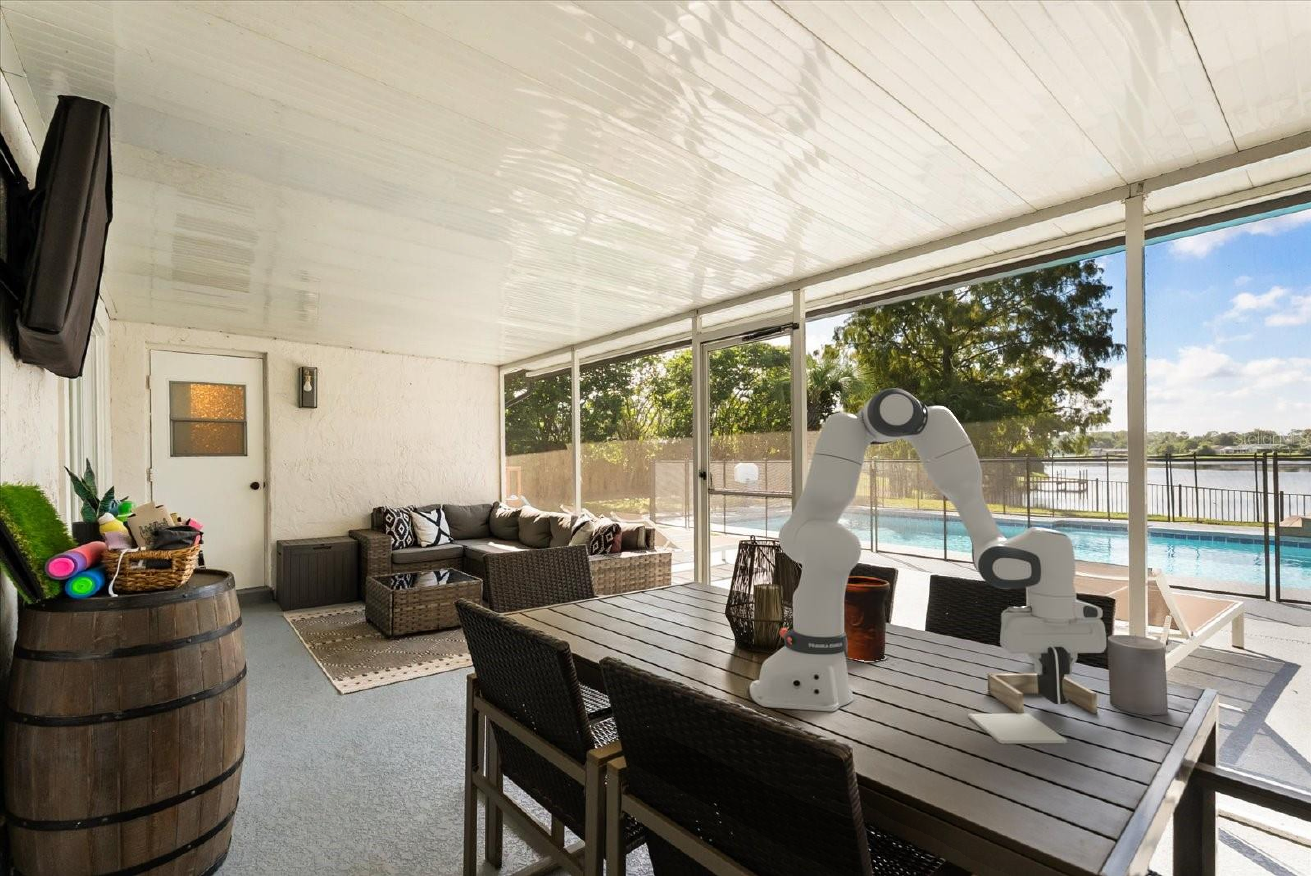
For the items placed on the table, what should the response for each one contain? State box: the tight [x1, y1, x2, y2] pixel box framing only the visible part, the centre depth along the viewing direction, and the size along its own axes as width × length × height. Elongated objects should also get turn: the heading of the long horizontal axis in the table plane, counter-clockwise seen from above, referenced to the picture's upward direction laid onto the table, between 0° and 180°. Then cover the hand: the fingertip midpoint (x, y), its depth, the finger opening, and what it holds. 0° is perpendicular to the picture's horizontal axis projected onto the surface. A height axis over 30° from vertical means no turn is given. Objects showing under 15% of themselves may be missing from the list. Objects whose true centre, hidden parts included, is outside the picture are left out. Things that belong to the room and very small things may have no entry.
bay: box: [987, 673, 1098, 714], centre depth 133 cm, size 16×12×4 cm
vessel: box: [844, 576, 891, 661], centre depth 167 cm, size 14×14×20 cm
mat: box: [967, 713, 1068, 744], centre depth 120 cm, size 12×12×1 cm
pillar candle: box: [1107, 634, 1169, 716], centre depth 130 cm, size 10×10×15 cm
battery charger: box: [1037, 647, 1070, 705], centre depth 129 cm, size 7×4×11 cm, turn 175°
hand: (1053, 673), depth 129 cm, fingers closed on battery charger, 4 cm apart
